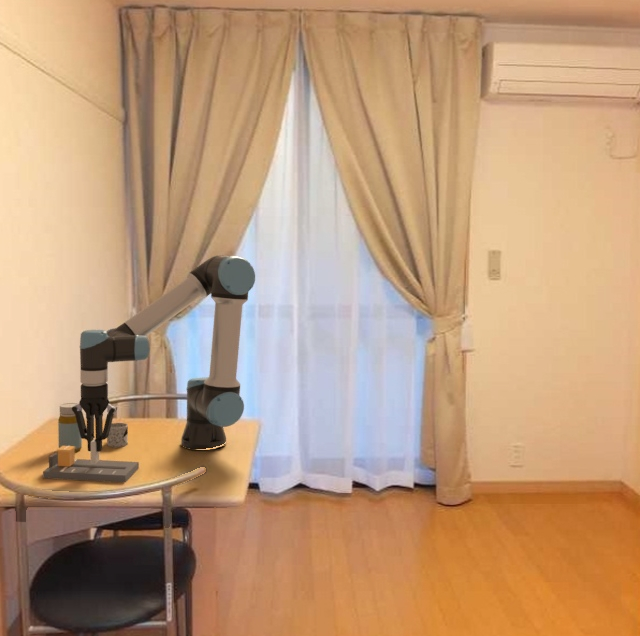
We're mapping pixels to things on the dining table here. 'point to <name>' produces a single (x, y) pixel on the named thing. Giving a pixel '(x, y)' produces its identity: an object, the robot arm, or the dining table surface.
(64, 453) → the fader
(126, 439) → the mug
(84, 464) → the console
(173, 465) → the dining table surface
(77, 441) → the bottle
